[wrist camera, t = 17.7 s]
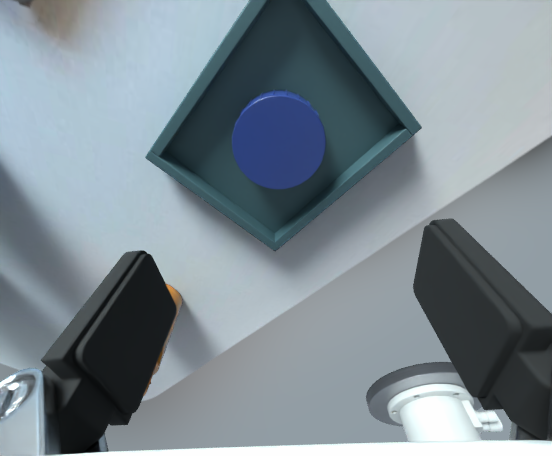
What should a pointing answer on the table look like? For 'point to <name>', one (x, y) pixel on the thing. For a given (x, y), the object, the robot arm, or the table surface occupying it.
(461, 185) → the table surface
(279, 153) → the lid
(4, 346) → the table surface
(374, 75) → the tray
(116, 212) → the table surface
